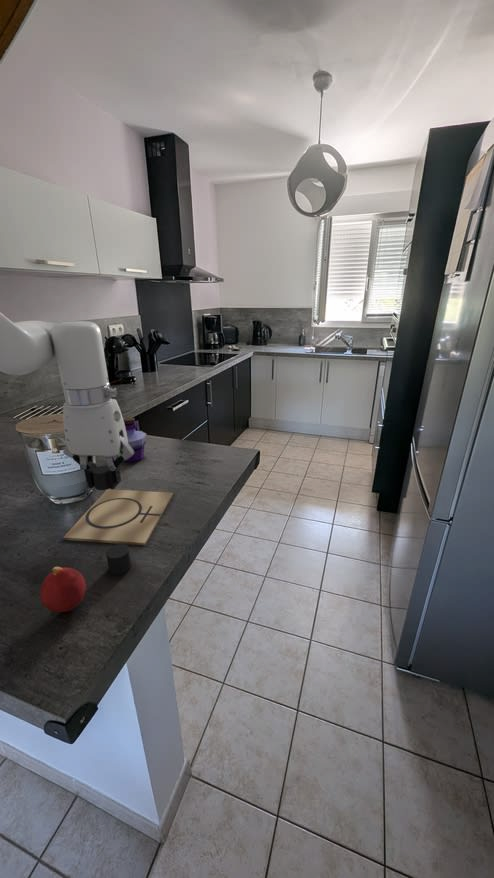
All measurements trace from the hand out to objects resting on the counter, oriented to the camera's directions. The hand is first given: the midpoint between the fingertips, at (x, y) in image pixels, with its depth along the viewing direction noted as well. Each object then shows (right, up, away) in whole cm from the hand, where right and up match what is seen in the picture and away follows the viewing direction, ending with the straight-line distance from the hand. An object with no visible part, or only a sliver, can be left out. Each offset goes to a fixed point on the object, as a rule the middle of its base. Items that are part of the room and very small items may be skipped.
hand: (104, 484), depth 70 cm
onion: (+2, -16, -17) cm, 24 cm away
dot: (0, 0, 0) cm, 0 cm away
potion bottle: (-4, +3, +31) cm, 31 cm away
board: (+2, -7, +5) cm, 9 cm away
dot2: (+6, -13, -9) cm, 17 cm away
